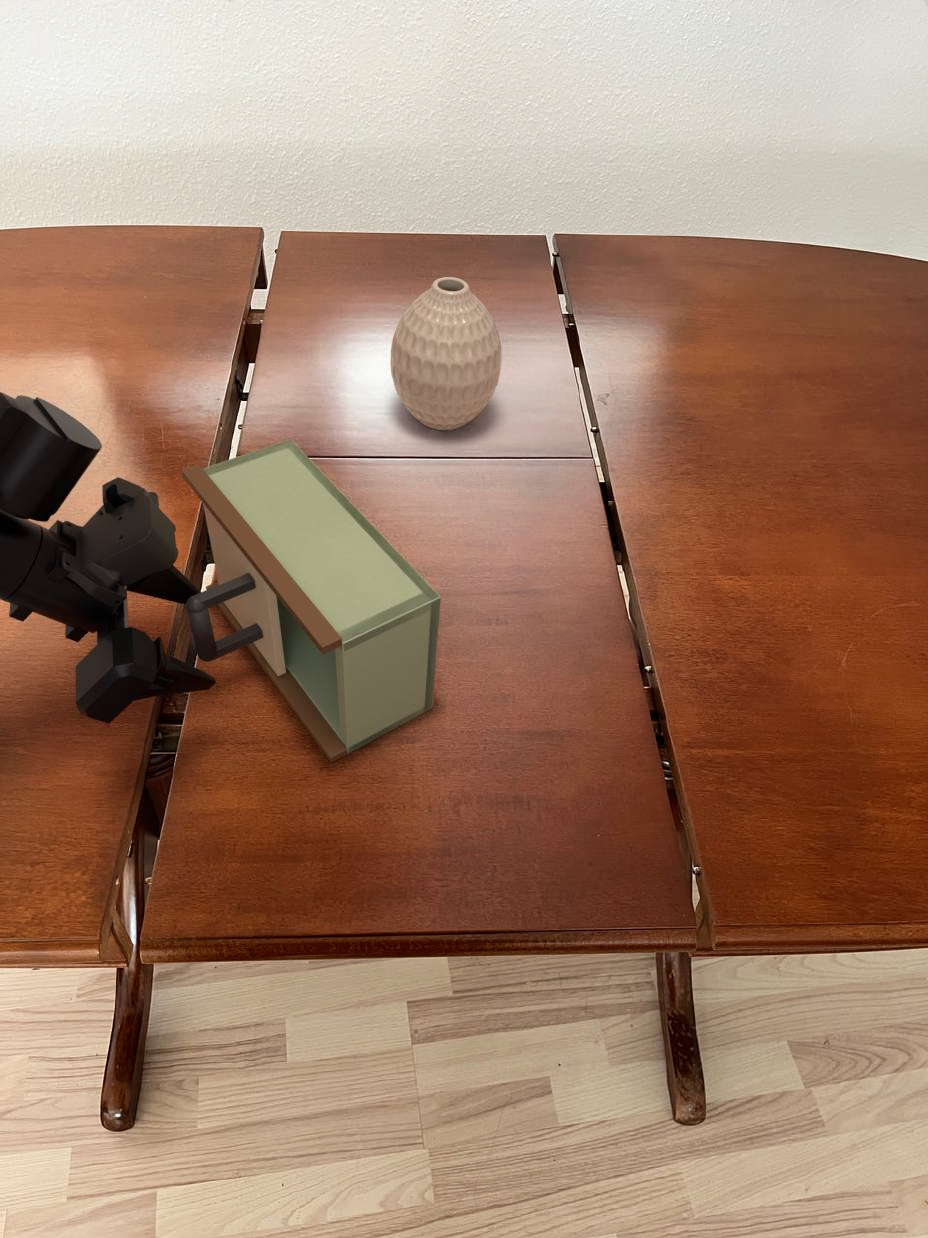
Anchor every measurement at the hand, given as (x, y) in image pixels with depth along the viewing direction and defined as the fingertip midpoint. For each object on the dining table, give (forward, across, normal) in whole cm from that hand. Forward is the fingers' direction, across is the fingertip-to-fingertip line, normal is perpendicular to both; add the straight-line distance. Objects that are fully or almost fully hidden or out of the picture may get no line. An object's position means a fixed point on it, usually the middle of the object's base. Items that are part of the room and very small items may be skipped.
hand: (207, 641), depth 70 cm
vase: (+26, +36, -17) cm, 48 cm away
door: (+4, +4, +3) cm, 6 cm away
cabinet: (+11, +3, -2) cm, 12 cm away
